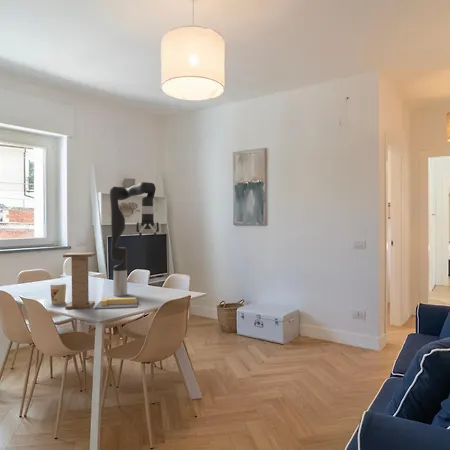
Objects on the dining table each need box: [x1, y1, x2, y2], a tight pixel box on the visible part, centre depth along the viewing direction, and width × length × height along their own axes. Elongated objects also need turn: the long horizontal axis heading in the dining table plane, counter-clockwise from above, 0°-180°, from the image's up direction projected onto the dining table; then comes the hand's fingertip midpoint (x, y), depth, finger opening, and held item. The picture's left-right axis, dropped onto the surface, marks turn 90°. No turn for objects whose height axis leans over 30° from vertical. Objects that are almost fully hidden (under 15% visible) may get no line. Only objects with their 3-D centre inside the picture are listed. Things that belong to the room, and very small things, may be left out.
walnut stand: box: [62, 251, 97, 310], centre depth 237 cm, size 14×16×32 cm
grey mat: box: [94, 299, 140, 310], centre depth 240 cm, size 20×24×1 cm
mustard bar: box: [100, 297, 137, 306], centre depth 241 cm, size 10×20×3 cm, turn 98°
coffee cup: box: [49, 282, 67, 305], centre depth 247 cm, size 9×9×12 cm
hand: (147, 238), depth 253 cm, fingers open, 8 cm apart
